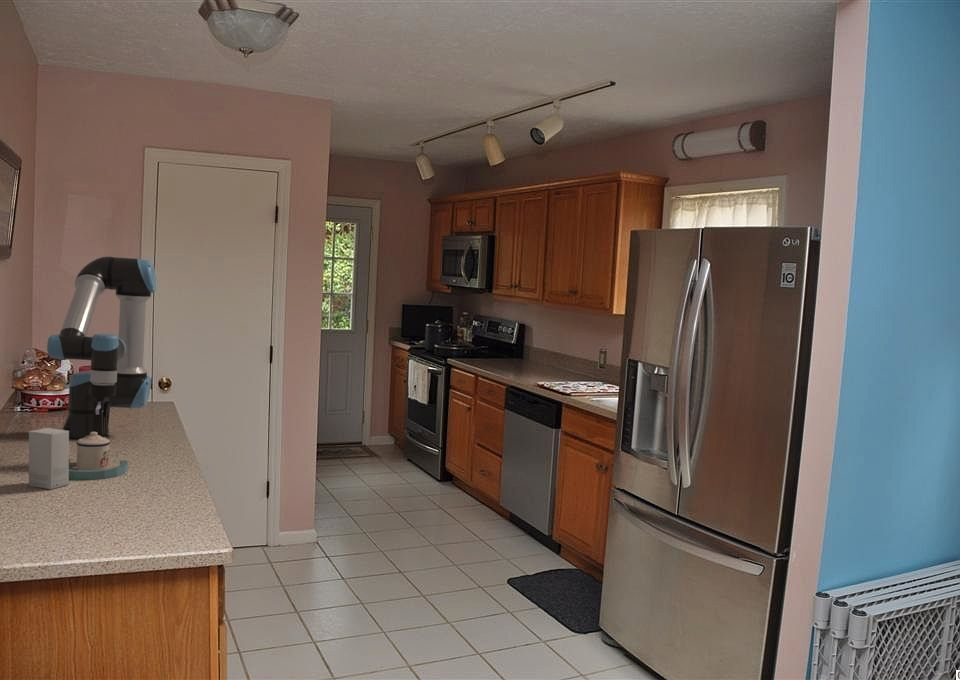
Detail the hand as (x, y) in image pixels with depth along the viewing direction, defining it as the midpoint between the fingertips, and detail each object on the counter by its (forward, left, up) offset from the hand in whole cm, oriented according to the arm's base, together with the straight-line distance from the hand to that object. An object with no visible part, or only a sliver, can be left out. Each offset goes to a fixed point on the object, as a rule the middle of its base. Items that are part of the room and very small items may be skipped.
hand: (99, 457), depth 248 cm
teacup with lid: (+8, 0, -2) cm, 8 cm away
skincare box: (+28, -7, -2) cm, 29 cm away
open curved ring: (+13, 0, -2) cm, 13 cm away
